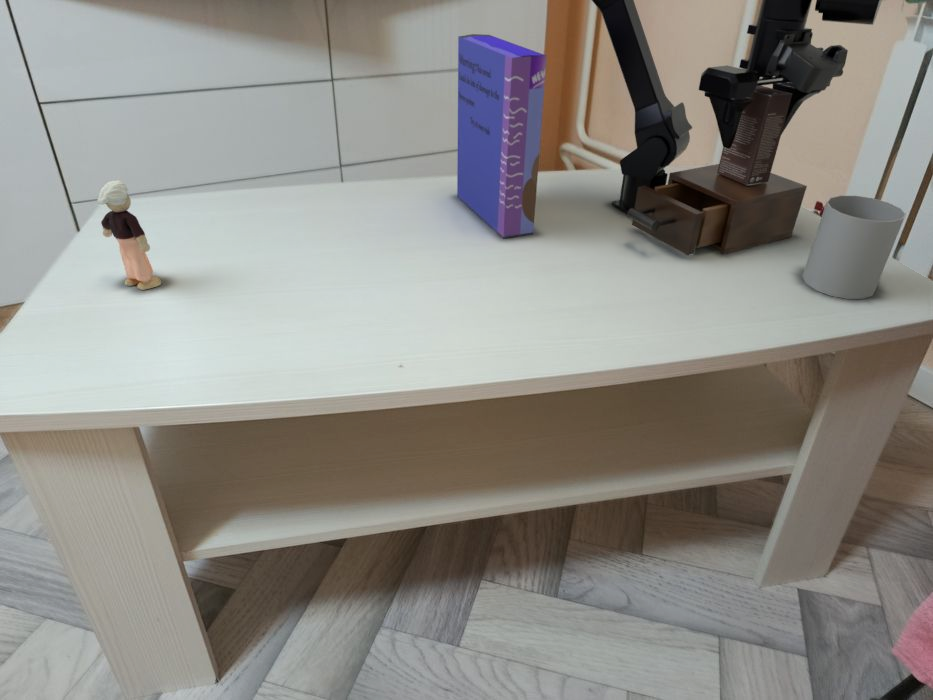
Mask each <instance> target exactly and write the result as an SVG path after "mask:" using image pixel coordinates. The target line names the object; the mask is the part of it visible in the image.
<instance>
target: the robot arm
mask: <svg viewBox="0 0 933 700" xmlns="http://www.w3.org/2000/svg"><path fill="white" fill-rule="evenodd" d="M591 1H592V3H593V4H594V5H595V6H596V7H597V8H598V10H599V12H600V13H601V16H602V19H603V21H604V25H605V27H606V30H607V33H608V36H609V39H610V42H611V44H612V47H613V50H614V54H615V56H616V59H617V62H618V64H619V68H620V71H621V74H622V76H623V79H624V83H625V86H626V88H627V91H628V95H629V97H630V100H631V102H632V106H633V109H634V138H635V143H636V148H635V149H634V150H632V151H631V152H630V153H628V154H627V155H625V156H624V157H623V158H621V159H620V160H619V165H620V171H621V174H622V183H621V189H620V196H619V199H617V200H612V201H611V205H612V206H613V207H614V208H617V209H619V210H620V211H623V212H624V213H626V214H627V213H628V211H629V209H631V208H634V209H635V203H636V197H637V191H638V187H639V186H644V185H645V186H647V187H649V188H651V189H653V190H655V187H657V186H662V185H667V182H668V177H669V176H668V175H669V174H668V173H667V172H666V170H665V168H666V167H669V165H670V164H672V162H674V161H675V160H676V159H677V158H679V157H680V156H681V155H682V154H683V153H684V152H685V151H686V150H687V148H688V145H689V144H690V140H691V137H690V136H691V135H690V131H691V130H692V129H693V126H692V125H691V124H690V122H689V120H688V118H687V113H686V107H685V103H684V102H680V103H678V104H676V105H675V106H674V104H673V103H672V102H671V101H670V100H669V98H668V97H667V96H666V93H665V91H664V88H663V85H662V81H661V78H660V75H659V73H658V70H657V69H658V68H657V67H656V64H655V61H654V58H653V55H652V52H651V48H650V46H649V43H648V40H647V36H646V34H645V31H644V27H643V25H642V22H641V21H642V20H641V18H640V15H639V12H638V9H637V6H636V3H635V1H634V0H591ZM882 1H883V0H816V1H815V6H814V11H815V12H817V13H818V14H822V15H821V21H822V22H830V23H831V22H832V23H842V24H843V23H845V24H856V25H869V26H874V24H875V21H876V20H877V19H876V18H877V16H878V14H879V11H880V7H881V4H882ZM812 2H813V0H761V2H760V7H759V11H758V15H757V19H756V23H755V24H748V27H747V31H746V34H748V35H753V37H752V41H751V45H750V50H749V54H748V58H741V59H740V62H739V67H737V66H736V67H735V66H732V65H718V66H710V67H707V68H706V69H704V70H703V72H701V74H700V80H699V84H698V91H700V92H704V97H706V98H709V101H710V104H711V107H712V110H713V113H714V116H715V120H716V124H717V126H718V133H719V137H720V139H721V144H722V148H723V147H725V148H731V146H732V144H733V141H734V139H735V135H736V132H737V129H738V125H739V122H740V119H741V115H742V112H743V110H744V109H745V108H746V107H747V106H748V105H749V104H750V103H752V102H753V101H754V99H752V98H748V97H750V96H751V95H752V94H753V92H754V91H755V90H756V86H768V85H772V87H771V88H772V89H776V90H780V91H784V92H789V93H792V97H791V101H790V104H789V108H788V112H787V115H786V119H785V122H784V126H783V130H782V133H781V136H782V134H783V133H784V131H785V130H786V128H787V127H788V125H789V123H790V122H791V120H792V119H793V117H794V116H795V114H796V112H797V111H798V110H799V108H800V107H801V105H802V104H803V103H804V102H805V101H807V100H808V99H810V98H811V97H813V96H815V95H818V94H820V93H821V92H822V91H825V90H826V89H827V88H828V87H830V86H831V82H832V80H833V78H839V77H841V76H843V74H844V67H845V66H846V62H847V56H848V52H849V50H848V49H847V48H845V47H844V46H842V45H841V44H836V45H829V46H828V47H827V48H825V49H824V47H816V46H815V45H813V44H812V40H813V39H812V38H813V34H814V33H813V32H812V31H813V28H808V27H806V24H807V21H808V17H809V13H810V10H811V6H812Z"/></svg>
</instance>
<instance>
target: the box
mask: <svg viewBox="0 0 933 700" xmlns="http://www.w3.org/2000/svg"><path fill="white" fill-rule="evenodd" d="M772 88H773V87H768V86H765V85H761V86H756V90H755V91H754V92H753V94H752V95H751V96H750V97H748V98H752V99H754V101H753V102H752V103H750V104H749V105H748V106H747V107H746V108H745V109H744V110H743V112H742V115H741V119H740V122H739V125H738V129H737V132H736V135H735V139H734V141H733V144H732V146H731V148H725V147H723V146H722V150H721V155H720V159H719V163H718V164H719V167H718V171H717V173H718V174H721V175H723V176H726V177H728V178H731V179H733V180H735V181H738V182H740V183H743V184H745V185H747V186H752V185H757V184H761V183H766V182H768V180H769V177H770V173H772V169H773V165H774V162H775V159H776V155H777V151H778V147H779V144H780V140H781V136H782V135H781V133H782V130H783V126H784V122H785V119H786V115H787V112H788V108H789V104H790V101H791V97H792V93H789V92H784V91H780V90H776V89H772ZM782 134H783V133H782Z"/></svg>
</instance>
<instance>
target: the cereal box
mask: <svg viewBox="0 0 933 700" xmlns="http://www.w3.org/2000/svg"><path fill="white" fill-rule="evenodd" d="M457 37H458V40H457V41H458V42H457V46H458V47H457V48H458V49H457V69H458V70H457V164H456V165H457V167H456V168H457V170H456V171H457V172H456V175H457V176H456V177H457V178H456V179H457V183H456V185H457V189H456V190H457V191H456V193H457V195H456V197H457V199H459V200H460V201H461V202H462V203H463V204H464V205H465V206H466V207H468V208H469V210H471V211H472V212H473V213H474V214H475V215H476V216H478V218H480V219H481V220H482V221H483V222H484V223H485V224H486V225H487V226H488V227H490V228H491V229H492V230H493V231H494V232H495V233H496V234H497V235H499V236H500V237H501V238H502V239H510V238H517V237H522V236H528V235H533V234H534V229H535V215H536V203H537V189H538V175H539V163H540V162H539V161H540V149H541V135H542V122H543V121H542V120H543V110H544V109H543V108H544V96H545V85H546V83H545V82H546V71H547V70H546V69H547V68H546V67H547V55H546V54H543V53H540V52H538V51H535V50H532V49H529V48H527V47H524V46H522V45H519V44H516V43H513V42H510V41H507V40H505V39H502V38H500V37H497V36H493V35H491V34H479V33H477V34H475V33H472V34H465V35H459V36H457Z"/></svg>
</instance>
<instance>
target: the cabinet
mask: <svg viewBox="0 0 933 700" xmlns="http://www.w3.org/2000/svg"><path fill="white" fill-rule="evenodd" d="M718 167H719V163H716V164H711V165H706V166H700V167H695V168H689V169H685V170H684V169H683V170H679V171H673V172H669V174H668V175H669V176H668V179H667V185H668V184H673V183H678V182H679V183H681V184H684V185H686V186H688V187H691V188H693V189H695V190H698V191H700V192H702V193H704V194H707V195H709V196H711V197H714V198H716V199H718V200H721V201H723V202H725V203H727V204H730V205H731V208H730V212H729V216H728V220H727V224H726V228H725V232H724V236H723V240H722V242H719V243H715V244H711V245H707V246H706V247H708V248H710V249H712V250H714V251H715V252H718V253H720V254H722V255H726V254H730V253H734V252H738V251H742V250H746V249H749V248H753V247H758V246H761V245H765V244H770V243H773V242H777V241H780V240H784V239H788V238H791V237H792V236H793V234H794V229H795V226H796V223H797V220H798V216H799V213H800V210H801V206H802V203H803V200H804V198H805V194H806V191H807V189H808V188H807V187H808V186H807V185H805V184H802V183H800V182H797V181H794V180H791V179H789V178H786V177H783V176H781V175H778V174H775V173H773V172H771V173H770V177H769V180H768V182H766V183H761V184H757V185H752V186H747V185H745V184H743V183H740V182H738V181H735V180H733V179H731V178H728V177H726V176H723V175H721V174H718V173H717V171H718Z"/></svg>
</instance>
